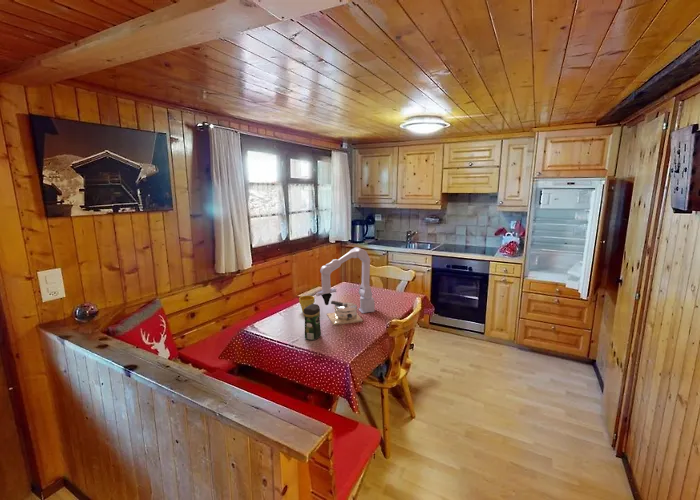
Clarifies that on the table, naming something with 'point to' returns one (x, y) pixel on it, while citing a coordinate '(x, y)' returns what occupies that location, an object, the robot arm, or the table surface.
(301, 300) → the plant pot
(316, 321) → the coffee jar
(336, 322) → the tan square board
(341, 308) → the cooker lid
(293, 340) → the table surface
